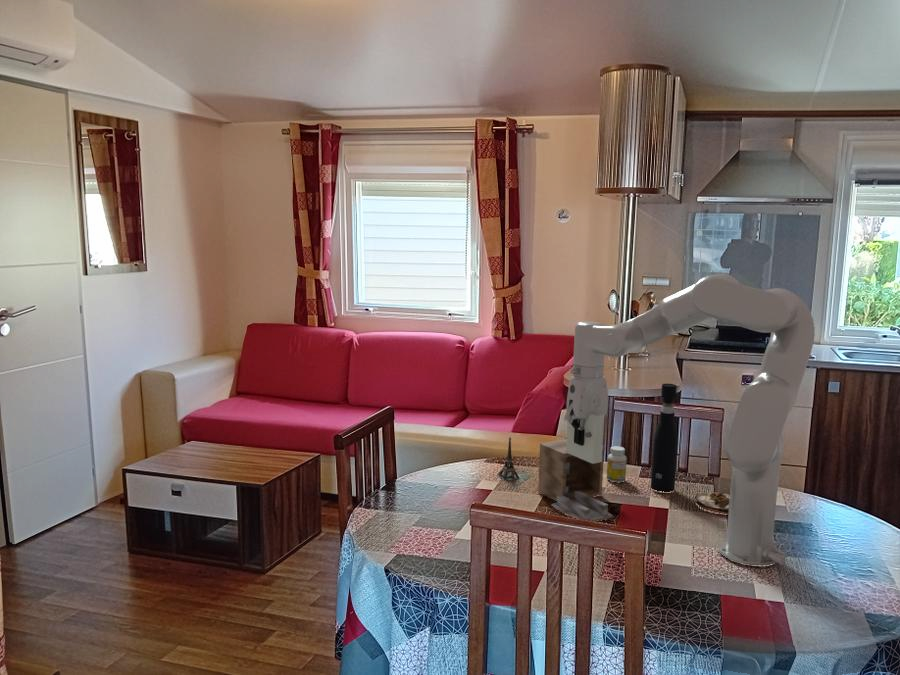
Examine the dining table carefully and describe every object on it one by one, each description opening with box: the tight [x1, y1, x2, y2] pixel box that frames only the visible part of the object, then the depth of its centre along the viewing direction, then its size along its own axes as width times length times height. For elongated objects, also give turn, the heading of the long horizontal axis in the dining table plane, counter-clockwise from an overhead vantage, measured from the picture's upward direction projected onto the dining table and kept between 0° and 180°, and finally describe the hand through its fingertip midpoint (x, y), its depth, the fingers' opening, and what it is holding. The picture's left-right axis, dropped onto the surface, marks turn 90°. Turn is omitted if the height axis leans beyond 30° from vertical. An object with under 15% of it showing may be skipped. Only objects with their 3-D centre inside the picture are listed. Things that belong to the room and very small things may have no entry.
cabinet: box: [537, 438, 613, 521], centre depth 189 cm, size 23×18×14 cm
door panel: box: [566, 413, 605, 464], centre depth 181 cm, size 10×4×12 cm, turn 31°
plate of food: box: [694, 491, 730, 514], centre depth 189 cm, size 15×15×4 cm
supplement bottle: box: [606, 445, 628, 483], centre depth 207 cm, size 5×5×10 cm
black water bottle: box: [650, 383, 679, 492], centre depth 199 cm, size 6×6×30 cm
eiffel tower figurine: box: [497, 437, 532, 489], centre depth 208 cm, size 15×10×13 cm
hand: (584, 442), depth 181 cm, fingers closed on door panel, 3 cm apart
